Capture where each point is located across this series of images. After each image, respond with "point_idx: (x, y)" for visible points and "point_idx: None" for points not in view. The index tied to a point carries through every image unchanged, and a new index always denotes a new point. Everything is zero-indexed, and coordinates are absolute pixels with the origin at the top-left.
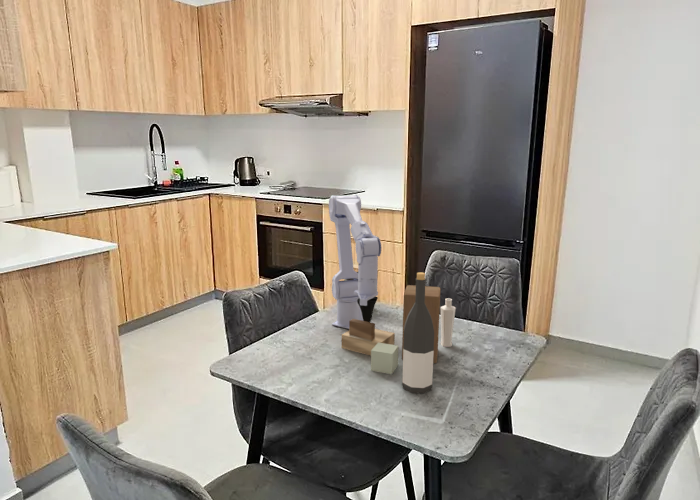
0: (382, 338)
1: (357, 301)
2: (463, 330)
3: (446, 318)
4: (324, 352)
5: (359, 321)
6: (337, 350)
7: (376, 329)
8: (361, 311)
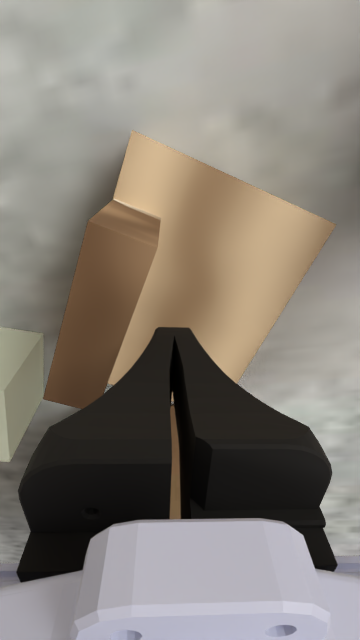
0: None
1: (46, 446)
2: (353, 519)
3: None
4: (44, 21)
5: (99, 312)
6: (101, 115)
7: (257, 337)
8: (131, 368)
